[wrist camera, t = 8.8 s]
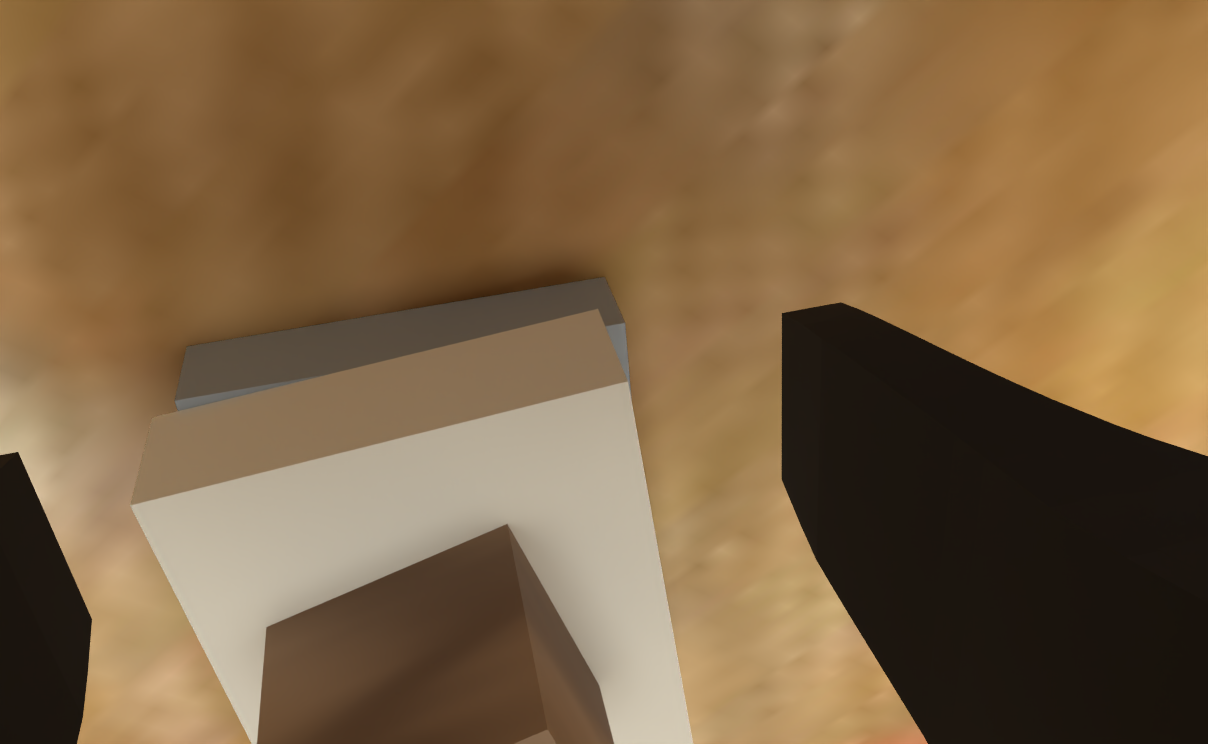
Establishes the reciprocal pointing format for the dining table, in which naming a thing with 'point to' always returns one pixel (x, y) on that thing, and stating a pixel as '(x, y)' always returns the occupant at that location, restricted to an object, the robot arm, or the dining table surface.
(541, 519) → the tower top block
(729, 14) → the dining table surface
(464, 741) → the walnut cube
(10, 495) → the robot arm
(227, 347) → the tower base block
